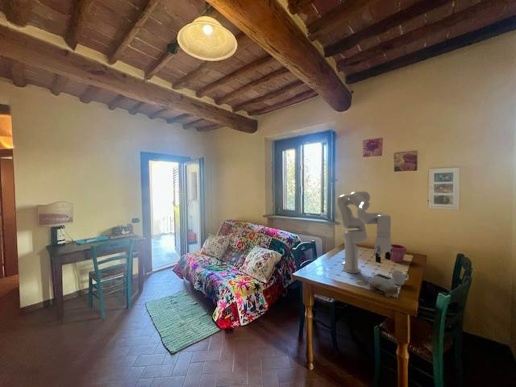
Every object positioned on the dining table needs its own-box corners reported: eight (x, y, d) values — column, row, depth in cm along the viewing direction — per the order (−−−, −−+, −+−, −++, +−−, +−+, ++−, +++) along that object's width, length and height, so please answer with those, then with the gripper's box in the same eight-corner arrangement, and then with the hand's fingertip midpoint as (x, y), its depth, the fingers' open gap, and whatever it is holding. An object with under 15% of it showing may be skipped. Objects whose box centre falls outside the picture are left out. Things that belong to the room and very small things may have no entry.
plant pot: (410, 261, 193) (410, 247, 193) (398, 264, 188) (398, 249, 188) (394, 257, 207) (394, 243, 206) (383, 259, 202) (383, 245, 201)
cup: (404, 280, 156) (404, 269, 156) (412, 286, 148) (412, 274, 148) (389, 281, 156) (389, 270, 156) (396, 286, 148) (396, 274, 148)
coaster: (353, 282, 156) (354, 281, 156) (360, 279, 159) (360, 279, 159) (362, 285, 150) (362, 285, 150) (369, 283, 153) (369, 283, 153)
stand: (369, 289, 145) (369, 282, 144) (379, 285, 149) (379, 279, 149) (388, 297, 134) (388, 290, 134) (398, 293, 139) (398, 286, 139)
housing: (373, 282, 145) (373, 275, 145) (379, 280, 148) (379, 273, 147) (388, 288, 136) (388, 280, 136) (394, 286, 139) (394, 278, 139)
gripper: (386, 231, 148) (385, 256, 149) (369, 234, 140) (368, 261, 141) (397, 233, 141) (397, 260, 142) (380, 237, 133) (380, 265, 134)
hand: (383, 260), depth 142 cm, fingers open, 9 cm apart
